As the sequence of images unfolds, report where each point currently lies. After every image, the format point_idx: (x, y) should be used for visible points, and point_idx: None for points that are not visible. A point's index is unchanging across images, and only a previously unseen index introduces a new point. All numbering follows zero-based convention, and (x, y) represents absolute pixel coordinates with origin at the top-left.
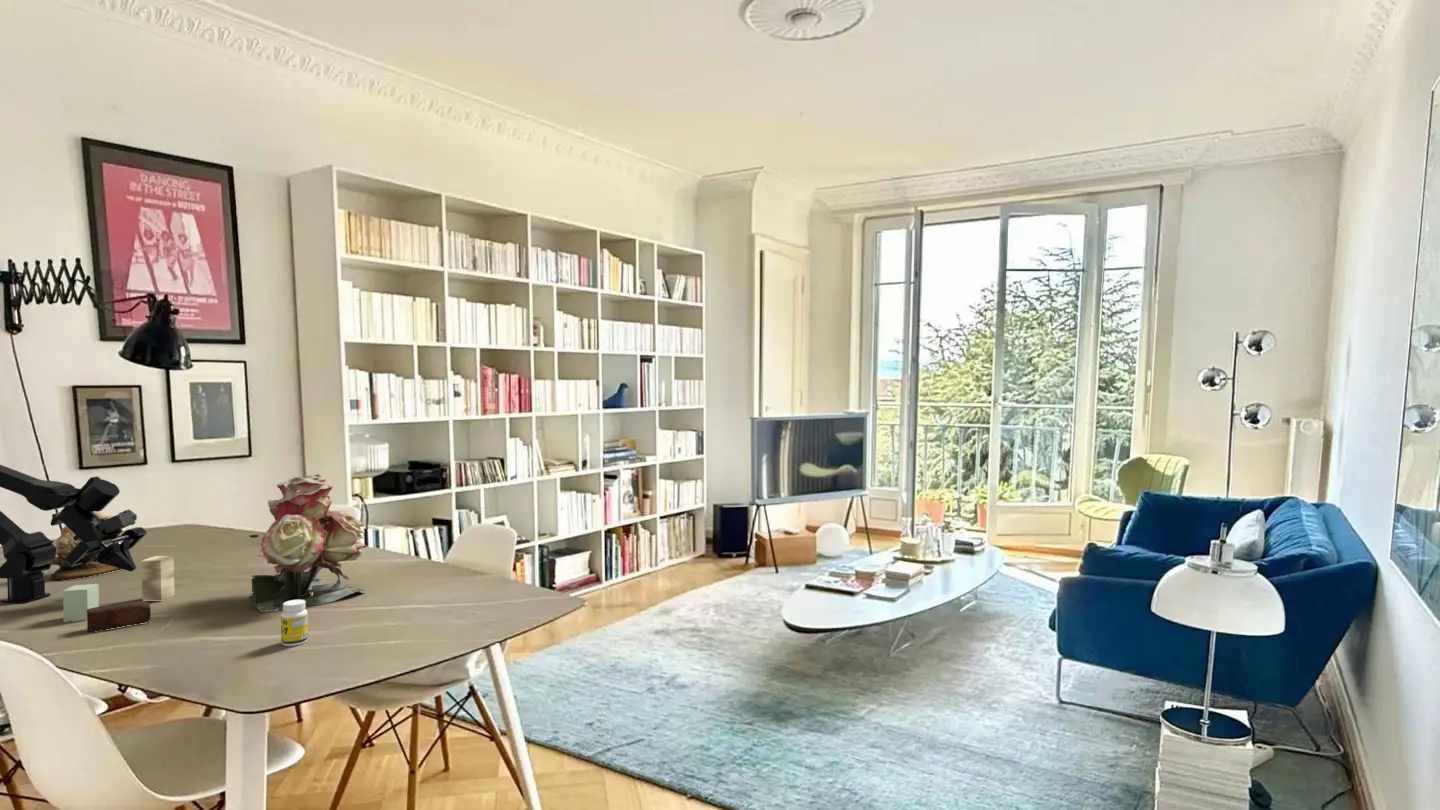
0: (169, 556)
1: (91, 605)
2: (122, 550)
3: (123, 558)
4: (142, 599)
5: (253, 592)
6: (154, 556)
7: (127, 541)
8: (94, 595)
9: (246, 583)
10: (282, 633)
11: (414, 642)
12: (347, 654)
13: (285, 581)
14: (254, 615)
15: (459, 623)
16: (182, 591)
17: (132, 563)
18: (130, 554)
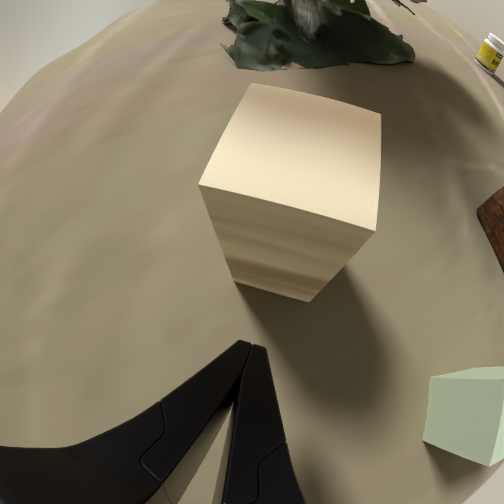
0: (253, 97)
1: (488, 370)
2: (155, 500)
3: (275, 438)
4: (310, 300)
5: (397, 43)
6: (215, 182)
7: (13, 483)
8: (495, 373)
9: (175, 93)
10: (497, 66)
11: (454, 27)
12: None
13: (368, 10)
14: (426, 70)
15: (411, 4)
16: (194, 210)
17: (235, 365)
18: (146, 410)
